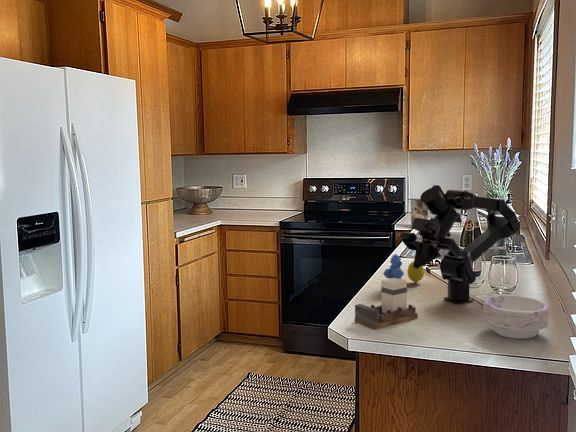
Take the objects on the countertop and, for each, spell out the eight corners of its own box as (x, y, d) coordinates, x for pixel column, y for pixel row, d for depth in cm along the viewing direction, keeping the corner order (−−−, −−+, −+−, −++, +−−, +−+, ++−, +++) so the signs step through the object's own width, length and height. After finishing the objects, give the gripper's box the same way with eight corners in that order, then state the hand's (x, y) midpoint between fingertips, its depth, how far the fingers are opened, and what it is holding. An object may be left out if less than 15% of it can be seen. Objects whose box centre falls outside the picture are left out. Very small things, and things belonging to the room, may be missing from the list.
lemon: (405, 284, 193) (405, 261, 192) (410, 280, 198) (410, 258, 197) (421, 285, 190) (421, 262, 189) (425, 282, 195) (425, 259, 194)
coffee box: (427, 226, 321) (427, 198, 319) (428, 228, 315) (428, 199, 313) (410, 226, 323) (410, 198, 321) (411, 228, 316) (411, 199, 314)
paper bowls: (553, 345, 132) (554, 312, 131) (484, 341, 136) (485, 309, 135) (543, 325, 147) (543, 295, 146) (481, 322, 151) (481, 293, 150)
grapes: (381, 286, 190) (381, 251, 189) (401, 286, 190) (401, 251, 188) (384, 296, 179) (384, 258, 177) (406, 295, 178) (406, 258, 177)
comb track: (396, 311, 162) (396, 294, 162) (417, 317, 156) (417, 300, 155) (354, 322, 154) (354, 304, 153) (374, 329, 147) (374, 311, 146)
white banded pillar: (394, 308, 160) (394, 277, 158) (406, 312, 156) (406, 280, 155) (381, 312, 157) (381, 280, 156) (393, 316, 153) (393, 283, 152)
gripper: (403, 204, 168) (376, 246, 163) (454, 209, 152) (426, 255, 148) (422, 228, 173) (396, 268, 168) (472, 235, 158) (446, 280, 153)
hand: (414, 267), depth 159 cm, fingers closed
